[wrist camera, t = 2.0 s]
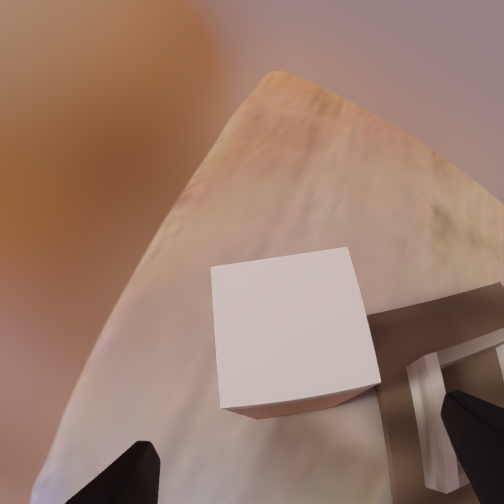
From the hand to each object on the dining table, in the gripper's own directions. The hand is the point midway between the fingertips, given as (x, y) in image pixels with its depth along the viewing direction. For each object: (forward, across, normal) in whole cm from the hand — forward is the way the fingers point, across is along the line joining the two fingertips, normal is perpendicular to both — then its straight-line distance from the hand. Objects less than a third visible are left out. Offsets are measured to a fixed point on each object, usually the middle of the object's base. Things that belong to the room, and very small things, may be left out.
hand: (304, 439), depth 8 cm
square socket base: (+6, -11, +9) cm, 16 cm away
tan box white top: (+10, 0, +5) cm, 11 cm away
